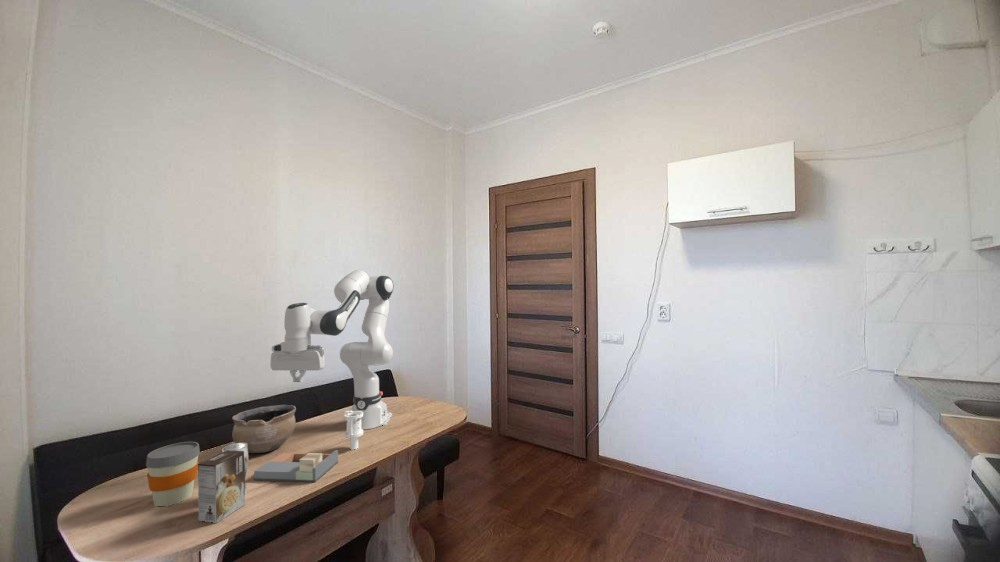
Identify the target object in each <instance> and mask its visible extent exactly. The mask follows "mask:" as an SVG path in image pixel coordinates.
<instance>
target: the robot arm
mask: <svg viewBox="0 0 1000 562" xmlns="http://www.w3.org/2000/svg"><path fill="white" fill-rule="evenodd" d="M394 286H395V285H394V281H393V279H392V278H391V277H390V276H388V275H378V276H377V275H375V276H369V275H368V274H367V272H366V271H364V270H361V269H357V270H353V271H351V272H350V273H348V274H346V275H345V276H344V277H342V278H341V279H340V280H339V281H338V282H337V284H336V285H335V286H334V288H333V294H334V297H335V299H336V300H337V301H338V302H339V303H340V305H339V306H338V307H337V308H336V309H331V310H317V309H315V308H312V307H311V306H310V305H309V303H307V302H298V303H297V302H296V303H292V304H290V305H288V306H286V309H285V312H284V322H283V323H284V330H285V335H284V341H283V342H280V343H278V344H274V345H272V346H271V351H272V353H271V355H270V360H269V361H270V368H271V370H272V371H289V374H290V375H291V377H292V383H303V381H304V376H305V374H306V373H307V371H321V370H323V369H324V368H325V366H326V362H325V361H326V360H325V359H326V358H325V355H324V354H325V349H324V348H323V347H322V346H321V345H312V341H311V339H312V338H311V336H312V335H325V336H326V335H327V336H339V335H340V334H341V333H342V332H343V331H344V330H345V328H346V326H347V323H348V321H349V319H350V318H351V316H352V315H353V314H354V312H355V310H356V309H357V307H358V306H359V304H360V302H361V300H362V301H363V300H368V306H367V308H366V311H365V313H364V317H363V320H362V324H361V331H362V333H363V334H364V335H365V336H367V337H368V340H367V341H353V342H348V343H345V344H344V345H342V347H341V348H340V350H339V358H340V360H341V363H342V364H345V366H346V367H347V368H348V369H349V371H350V373H351V375H352V379H353V385H354V386H353V388H354V390H353V391H354V395H353V398H352V399H353V401H352V402H353V405H352V406H351V408H350V409H351V410H350V411H362V412H363V417H361V429H363V430H371V429H375V428H378V427H383V426H387V425H388V423H389V421H390V420H391V418H390V417H392V416H393V413H392V412H390V411H388V405H387V404H386V402H384V400H382V396H383V391H381V390H380V378H379V376H378V375H377V373H376V372H374V371H373V370H371V368H370V367H371V366H374V367H375V366H378V367H379V366H383V365H388V364H389V363H390V362H391V361H392V360H393V356H394V349H393V347H392V346H391V344H390V343H389V342H388V341H387V339H386V328H387V322H388V318H389V313H390V312H389V311H390V302H389V300H390V298H391V297H392V296H391V295H392V294H393V292H394ZM297 372H298V373H299V376H298V375H297ZM359 415H360V414H359ZM350 416H356V414H353V415H350ZM353 420H354V419H353ZM387 422H388V423H387ZM382 425H383V426H382Z"/></svg>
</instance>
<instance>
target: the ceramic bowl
mask: <svg viewBox="0 0 1000 562" xmlns="http://www.w3.org/2000/svg"><path fill="white" fill-rule="evenodd" d="M296 412H297V408H296V406H295V405H292V404H278V405H268V406H260V407H256V408H252V409H247V410H244V411H241V412H238V413H237V414H235V415H233V416H232V418H231V419H232V420H233V423H234V425H233V427H232V433H231V434H232V435H231V436H232V440H233V441H234V444H235V443H247V444H248V454H263V453H268V452H272V451H275V450H277V449H278V448H280V447H281V446H282V445H284V444H285V443H286V441H288V440H289V438H290V437H291V436H292V433H294V430H295V428H296V425H297V424H296V416H295V413H296Z"/></svg>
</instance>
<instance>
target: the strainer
mask: <svg viewBox="0 0 1000 562" xmlns="http://www.w3.org/2000/svg"><path fill="white" fill-rule="evenodd" d="M353 414H356V416H351V415H353ZM359 414H360V415H359ZM361 417H363V412H362V411H351V410H345V411H344V417H343V418H344V421H346V431H345V432H344V437H345V438H347V439H349V441H350V442H349V445H350V447H349V450H350V449H351V450H350V451H355V450H354V449H356V450H358V449H359V437H362V436H363V435H364V429H361ZM353 419H354V420H353ZM357 448H358V449H357Z"/></svg>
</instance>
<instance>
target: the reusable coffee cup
mask: <svg viewBox="0 0 1000 562" xmlns="http://www.w3.org/2000/svg"><path fill="white" fill-rule="evenodd" d="M200 449H201V448H200V444H199V443H198V442H196V441H184V442H183V441H182V442H176V443H171V444H169V445H165V446H162V447H158V448H156V449H154V450H152V451H150V452H148V454H147V456H146V461H145V462H146V463H145V467H146V468H147V471H148V472H147V474H146V476H147V477H146V478H147V483H148V488H149V491H151V494H152V500H153V505H154V506H155V505H156V506H155V507H157V506H165V507H168V506H167V505H170V506H172V505H171V504H174V505H176V504H175V503H177V504H179V503H182V502H184V501H186V500H188V499H189V498H191V496H192V495H193V492H194V486H195V479H196V478H198V464H199V463H200V461H199V460H198V459H199V455H200V453H201V452H200ZM187 498H188V499H187ZM185 499H186V500H185ZM183 500H184V501H183ZM181 501H182V502H181ZM178 502H179V503H178Z"/></svg>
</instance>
